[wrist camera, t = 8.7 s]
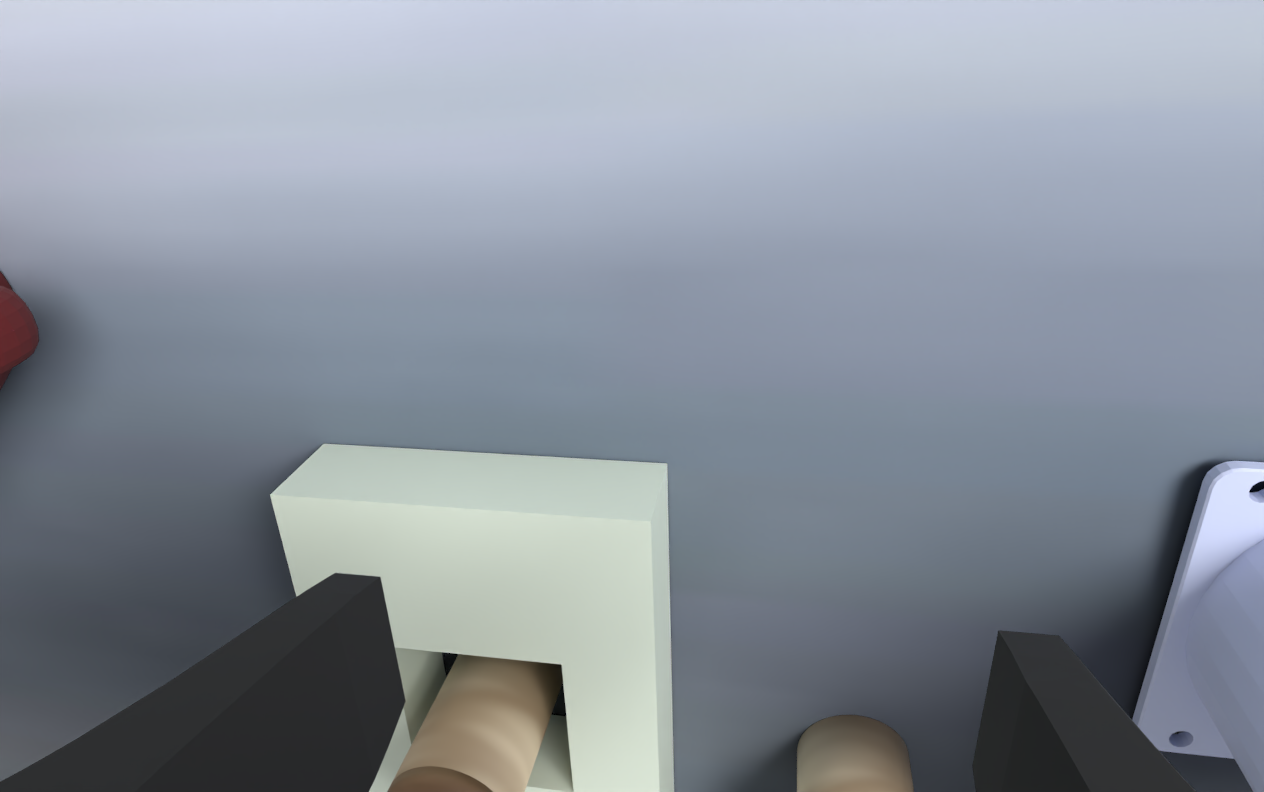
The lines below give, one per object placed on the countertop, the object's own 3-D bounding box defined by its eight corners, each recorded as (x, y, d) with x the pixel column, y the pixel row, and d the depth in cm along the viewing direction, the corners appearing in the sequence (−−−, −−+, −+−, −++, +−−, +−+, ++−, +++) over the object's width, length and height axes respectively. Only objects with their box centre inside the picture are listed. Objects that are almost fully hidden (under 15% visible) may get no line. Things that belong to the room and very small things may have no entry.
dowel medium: (572, 635, 23) (511, 807, 18) (558, 711, 25) (497, 890, 20) (468, 607, 23) (380, 769, 19) (460, 684, 25) (376, 854, 20)
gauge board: (667, 463, 20) (651, 521, 18) (674, 831, 26) (662, 910, 24) (324, 443, 22) (269, 495, 20) (401, 794, 27) (365, 865, 25)
